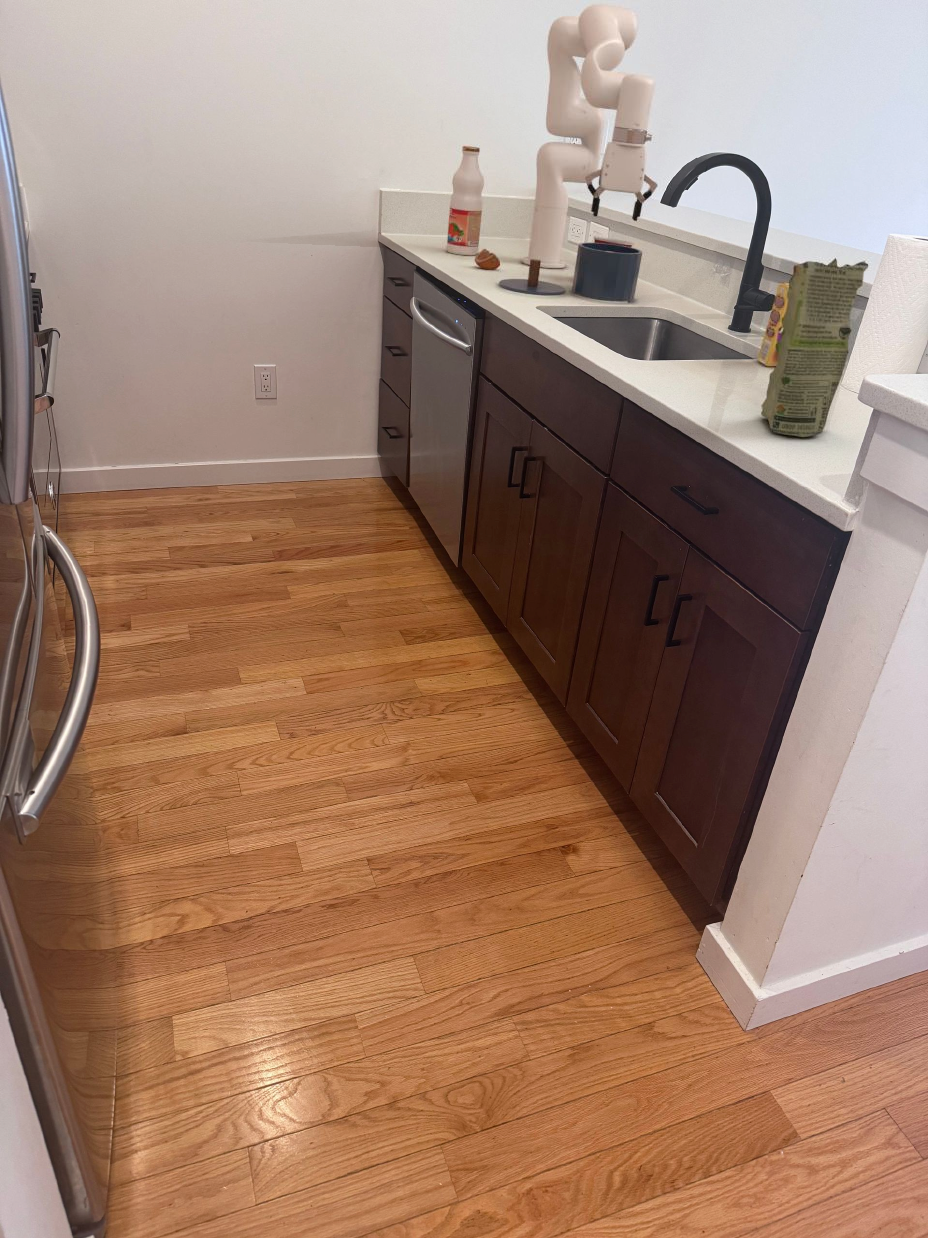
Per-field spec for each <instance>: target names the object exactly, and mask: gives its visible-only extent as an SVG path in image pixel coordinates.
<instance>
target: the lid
mask: <svg viewBox="0 0 928 1238" xmlns="http://www.w3.org/2000/svg"><path fill="white" fill-rule="evenodd" d="M540 264H541V260H538V259H530V265H529V266H528V267H529V268H528V276H527V278H506V279H502V280H500V281H499V282H498V286H499V287H501V288H502V289H505V290H508V291H512V292H516V293H521V294H526V295H527V294H528V295H537V296H559V295H563V294H565V293H566V288H565V286H562V285H560V284H556V283H553V282H549V281H543V280H540V279H539V277H540V271H541V267H540Z"/></svg>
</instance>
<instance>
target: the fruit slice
mask: <svg viewBox="0 0 928 1238" xmlns="http://www.w3.org/2000/svg"><path fill="white" fill-rule="evenodd" d="M474 263H475V264H476V265H477V266H478V267H479V268H480V269H482V270H489V271H490V270H491V271H493V270H497V269H498V268H500V266H501V260H500V259H499V258H498V256H497V255H496V254H495V253H494V252H490V250H487V249H486V248H483V249H482V250H481V251H480V252H478V253H477V254H476V255H475V257H474Z"/></svg>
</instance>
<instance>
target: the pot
mask: <svg viewBox="0 0 928 1238" xmlns="http://www.w3.org/2000/svg"><path fill="white" fill-rule="evenodd" d="M607 251H610V252H607ZM576 253H577V254H576V260H575V266H574V272H573V273H574V274H573V280H572V286H571V293H572V294H574V295H577V296H579V297H583V298H588V299H592V300H597V301H603V302H620V303H621V302H623V303H625V302H627V303H628V304H631V303H633V302H634V300H635V295H636V289H637V286H638V285H637V284H638V280H639V279H638V278H639V273H640V267H641V262H642V257H643V250H641V249H638V248H635V247H627V246H621V245H615V244H606V243H595V242H590V241H589V242H580V243H579V244H578V247H577V252H576Z"/></svg>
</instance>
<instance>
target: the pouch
mask: <svg viewBox="0 0 928 1238" xmlns="http://www.w3.org/2000/svg"><path fill="white" fill-rule="evenodd" d="M868 268H869V263H866V261H865V260H863V261H859V262H857V263H855V264H853V265H851V264H844V265H842V266H838V260H837V258H836V257H834V258H833V260H832V261H830V262H829V263H828V264H826V263H825V264H824V263H823V262H820V261H819V262H818V261H810V260H809V261H805V262H802V263H799V264H794V265H793V269H792V270H793V271H792V276H791V277H790V279H789V280H788V283H789V289H788V293H787V298H788V304H787V309H786V313H785V315H784V317H783V318H782V324H783V332H782V334H781V339H780V340H779V342H777V343H776V351H777V355H778V358H777V366H775V368H774V369H773V370H772V372H771V373H770V374H769V379H768V380H769V381H768V382H769V383H768V384H767V389H766V398H765V400H764V401H763V402H762V404H761V410H762V411H761V412H760V416H761V417H764V418H765V419H767V421H768V424H769V428H770V430H771V431H772V432H773V433H775V434H781V435H787V436H792V437H793V436H794V437H799V438H807V437H813V436H816V435H819V434H821V433H823V432H824V429H825V427H826V424H827V422H828V421H827V420H828V416H829V413H830V409H831V407H832V403H833V400H834V398H835V395H836V392H837V390H838V388H839V384H840V382H841V379H842V377H843V373H844V372H843V371H844V370H845V367H846V362H847V358H848V354H849V339H850V335H851V332H852V329H851V323H850V318H851V312H852V310H853V308H854V305H855V301H856V298H857V293H858V290H859V289H860V288H861V287H863V283H864V274H865V271H866V270H867V269H868Z"/></svg>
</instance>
